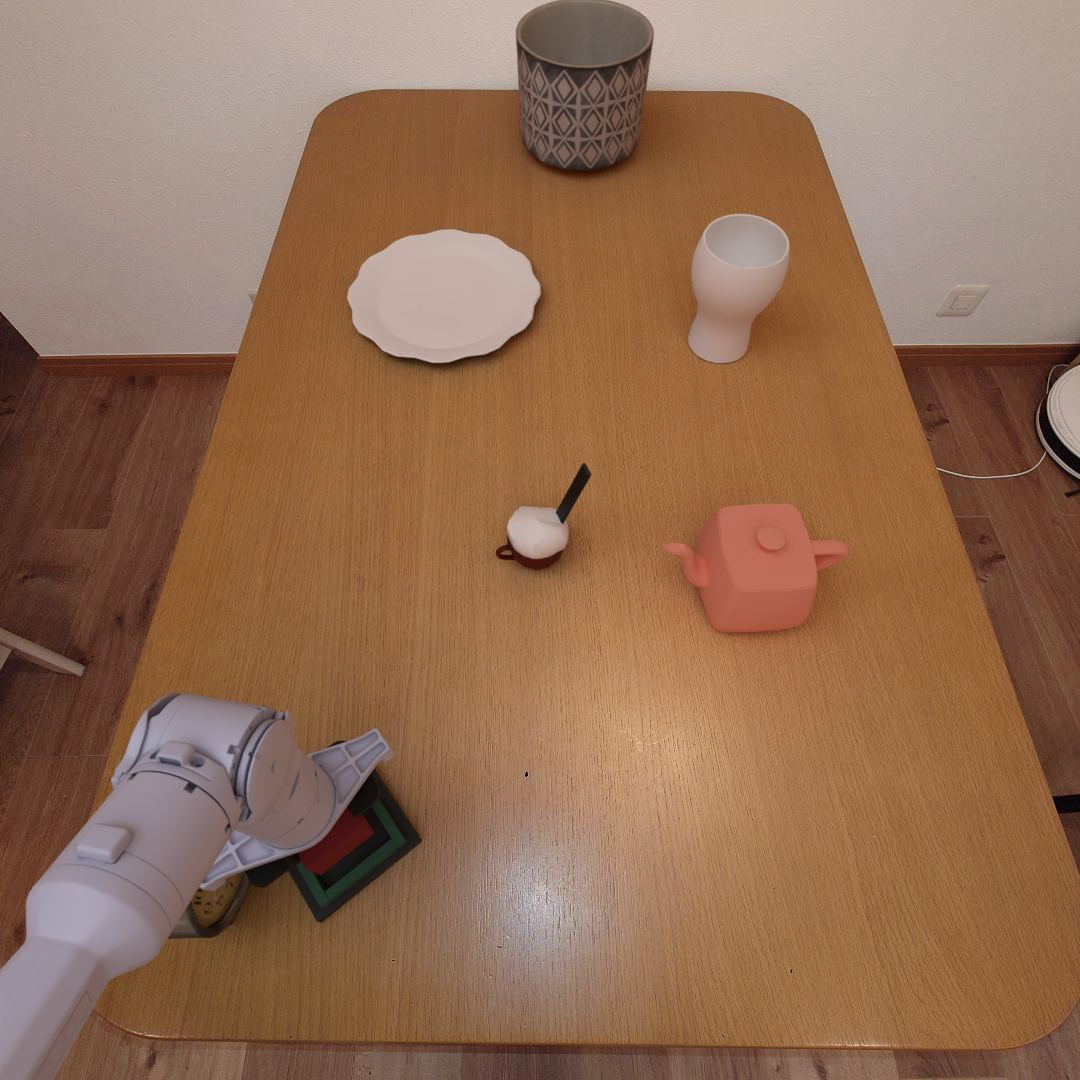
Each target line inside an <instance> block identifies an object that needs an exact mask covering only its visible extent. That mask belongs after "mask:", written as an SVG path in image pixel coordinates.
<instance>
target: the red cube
mask: <svg viewBox="0 0 1080 1080" xmlns="http://www.w3.org/2000/svg"><path fill="white" fill-rule="evenodd" d="M373 834H374V832H373V830H372V828H371V827H370V825H369V824H368V822H367V821H366V819H365V817H364V816H363V814H362V815H361V816H358V817H357V818H356V819H355V818H354V816H353V815H352V813H351V812H350V810H349V808H348V807H346V809H345V810H344V811H343V813H342V814H341V816H340V817H339V819H338V820H337V821H336V823H335V824H334V826H333V827H332V828H331V830H330V831H329V832H328V834H327V835H326V836H325V837H324V838H323V839H322V840H321V841H320V842H318V843H317V844H316V845H314V846H312V847H310V848H308V849H306V850H304V851H301V852H298V853H297V855H298V857H299V858H300V860H301V862H302V864H303V865H304V867H305V869H306V870H308V871H311V872H314V873H316V874H319V875H322V874H323V873H324V872H325V871H327V870H328V869H329V868H331V867H332V866H333V865H334V864H336V863H337V862H338V861H340V860H341V859H342V858H343V857H345V856H346V855H347V854H348V853H350V852H351V851H352V850H354V849H355V848H356V847H357V846H359V845H360V844H361V843H362V842H364V841H365V840H366V839H368V838H369V837H370V836H371V835H373Z"/></svg>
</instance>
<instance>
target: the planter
mask: <svg viewBox="0 0 1080 1080" xmlns="http://www.w3.org/2000/svg"><path fill="white" fill-rule="evenodd" d="M654 38H655V31H654V27H653V24H652V23H651V22H650V20H649V19H648V18H647V16H645V15H644V14H643V13H641V12H640V11H638V10H636V9H635V8H633V7H631V6H629V5H626V4H624V3H621V2H617V1H614V0H553V1H549V2H547V3H544V4H542V5H541V4H540V5H538V6H536V7H534V8H533V9H531V10H530V11H527V12H526V14H524V15H523V16H522V17H521V18H520V20H519V21H518V23H517V25H516V28H515V43H516V64H517V81H518V102H519V118H520V136H521V141H522V144H523V146H524V148H525V149H526V151H527V152H528V153H529V154H530V155H531V156H532V157H533V158H534V159H536V160H537V161H539V162H540V163H543V164H544V165H547V166H548V167H552V168H556V169H559V170H563V171H564V170H565V171H570V172H592V171H598V170H599V171H600V170H603V169H608V168H610V167H614V166H615V165H618V164H620V163H621V162H623V161H625V160H626V159H627V158H629V157H630V156H631V155H632V154H633V152H634V151H635V149H636V148H637V146H638V144H639V141H640V135H641V128H642V121H643V114H644V109H645V108H644V107H645V101H646V100H645V99H646V94H647V87H648V79H649V73H650V66H651V60H652V52H653V45H654V40H655V39H654Z"/></svg>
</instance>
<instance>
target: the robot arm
mask: <svg viewBox="0 0 1080 1080" xmlns="http://www.w3.org/2000/svg"><path fill="white" fill-rule="evenodd" d="M295 727H296V726H295V720H294V716H293V713H292V712H291V711H290V710H289V709H286V711H285V712H283V711H280V710H279V711H278V710H277V709H276V708H275V707H270V706H264V705H258V704H254V703H248V702H242V701H236V700H231V699H225V698H220V697H219V698H218V697H213V696H208V695H202V694H198V693H193V692H186V693H181V692H175V691H173V692H169V693H166V694H165V695H163V696H161V697H160V698H159V699H157V700H156V701H154V703H153V704H152V705H151V706H150V707H148V708H146V709H145V710H144V711H143V713H142V714H141V716H140V718H139V720H138V721H137V723H136V725H135V727H134V729H133V731H132V734H131V736H130V738H129V741H128V743H127V748H126V750H125V753H124V755H123V758H122V759H121V761H120V762H119V763H118V764H117V766H116V767H115V769H114V774H113V775H112V776H111V779H110V782H111V786H112V789H113V790H112V791H111V793H110V794H109V795H108V796H107V797H106V798H105V800H104V801H103V802H102V804H101V805H100V806H99V807H98V808H97V809H96V811H95V812H94V813H93V814H92V816H90V818H89V819H88V820H87V822H86V823H84V825H83V826H82V828H80V829H79V831H78V832H77V834H76V835H75V836H74V837H73V838H72V839H71V841H70V842H69V843H67V845H66V847H65V848H64V849H63V850H62V852H61V853H60V854H59V855H58V856H57V857H56V859H55V860H54V861H53V862H52V864H51V865H50V866H49V867H48V868H47V870H46V871H44V873H43V874H42V876H41V877H40V878H39V879H38V880H37V882H36V883H35V884H34V885H33V886H32V887H31V889H30V891H29V892H28V894H27V897H26V902H25V928H26V931H25V932H26V934H25V941H24V942H23V943H22V945H21V946H20V947H19V948H18V949H17V951H16V952H15V953H14V954H12V956H11V957H10V958H9V960H7V962H6V963H5V964H3V966H2V967H1V968H0V1080H55V1078H56V1077H57V1074H59V1071H60V1070H61V1068H62V1065H63V1064H64V1062H65V1060H66V1059H67V1057H68V1055H69V1053H70V1052H71V1050H72V1048H73V1046H74V1044H75V1042H76V1040H77V1039H78V1038H79V1035H80V1033H81V1032H82V1030H83V1029H84V1026H85V1024H86V1023H87V1021H88V1019H89V1017H90V1016H91V1014H92V1012H93V1010H94V1009H95V1006H96V1005H97V1003H98V1001H99V1000H100V997H101V996H102V994H103V992H104V991H105V989H106V987H107V985H108V983H109V982H110V981H111V980H112V979H115V978H117V977H120V976H122V975H124V974H128V973H129V972H132V971H134V970H137V969H139V968H141V967H143V966H146V965H147V964H149V963H150V962H152V961H154V959H155V958H157V956H158V955H159V954H160V952H161V950H163V947H164V945H165V944H166V943H167V941H168V937H169V936H170V934H171V932H172V931H173V929H174V927H175V926H176V924H177V923H178V921H179V919H180V918H181V916H182V914H183V913H184V911H185V909H186V908H187V906H188V905H189V903H190V901H191V900H192V898H193V896H194V895H195V893H196V892H197V890H198V888H199V887H201V889H204V890H209V891H215V890H216V889H218V888H219V887H220V886H222V885H223V884H224V883H225V882H226V878H227V877H229V876H232V875H234V874H237V873H240V872H245V873H246V875H247V877H248V879H249V881H250V884H251V885H252V886H253V887H255V888H258V889H259V888H260V889H264V888H267V887H268V886H270V885H271V884H272V883H274V882H276V881H277V880H278V879H279V878H280V877H282V876H283V875H284V874H286V873H287V872H289V871H288V870H289V868H290V867H292V866H295V865H297V864H299V863H300V862H301V860H300V858H299V857H298V855H297V853H298V852H301V851H304V850H306V849H308V848H310V847H312V846H314V845H316V844H317V843H318V842H320V841H321V840H322V839H323V838H324V837H325V836H326V835H327V834H328V832H329V831H330V830H331V828H332V827H333V826H334V824H335V823H336V821H337V820H338V819H339V817H340V816H341V814H342V813H343V811H344V810H345V809H346V807H348V808H349V810H350V812H351V813H352V815H353V816H354V818H355V819H356V818H357V817H358V816H361V815H362V814H364V813H365V812H366V811H367V809H369V808H370V807H371V806H373V805H374V804H375V803H376V802H377V801H378V800H379V799H380V790H379V787H378V785H377V784H376V782H375V781H374V779H373V778H372V776H371V775H370V773H371V772H372V771H373V769H375V768H376V767H377V766H378V764H380V763H384V764H385V763H386V762H388V761H389V760H391V759H392V758H393V757H395V756H396V754H395V752H394V750H393V749H392V747H391V746H390V744H389V743H388V742H387V740H386V739H385V738H384V736H383V734H382V733H381V732H380V731H379V730H380V729H378V728H377V727H374V728H372V729H370V730H368V732H366V733H364V734H362V735H360V736H358V737H356V738H352V739H350V740H336V741H334V742H333V743H331V744H330V745H328V746H327V747H326V748H322V749H320V750H316V751H313V752H310V753H307V754H306V753H305V752H303V750H302V749H301V748H300V747H298V745H297V743H296V728H295Z"/></svg>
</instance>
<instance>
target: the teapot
mask: <svg viewBox="0 0 1080 1080" xmlns="http://www.w3.org/2000/svg"><path fill="white" fill-rule="evenodd" d="M696 539H697V540H696V542H695V551H694V550H693V548H692V547H691V546H689V545H688V544H686V543H682V542H669V543H665V544H664V545H663V546H662V549H663V551H664V552H665V553H667V554H669V555H673V556H676V557H678V558H679V559H680V564H681V565H680V566H681V571H682V573H683V575H684V578H685V579H686V580H687V581H688V582H689V584H691V585H693V586H695V587H697V588H698V590H699V593H700V597H701V600H702V603H703V607H704V610H705V612H706V616H707V618H708V620H709V622H710V624H711V626H712V627H713V628H714V629H715V630H716V631H717V632H720V633H760V632H773V631H783V630H788V629H789V630H790V629H793V628H796V627H799V626H801V625H803V624H804V623H805V622H806V620H807V619H808V616H809V615H810V613H811V611H812V608H813V606H814V603H815V599H816V594H817V589H818V579H819V577H818V572H819V571H822V570H825V569H827V568H829V567H831V566H834V565H836V564H838V563H839V562H841V561H842V560H843V559H845V558H846V557H847V556H848V555H849V553H850V548H849V547H850V546H849V544H848V543H846V542H845V541H843V540H840V539H811V538H810V536H809V532H808V530H807V527H806V524H805V522H804V519H803V517H802V515H801V513H800V511H799V509H798V508H797V506H795V505H794V504H793V503H784V502H783V503H781V502H779V503H777V502H776V503H751V504H750V503H749V504H737V505H728V506H727V505H726V506H722V507H721V508H719V509H717V510H716V512H714V514H712V516H710V517H709V519H708V520H707V521H706V522H705V524H703V526H702V528H701V530H700V531H699V534H698V535H697V538H696Z"/></svg>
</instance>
